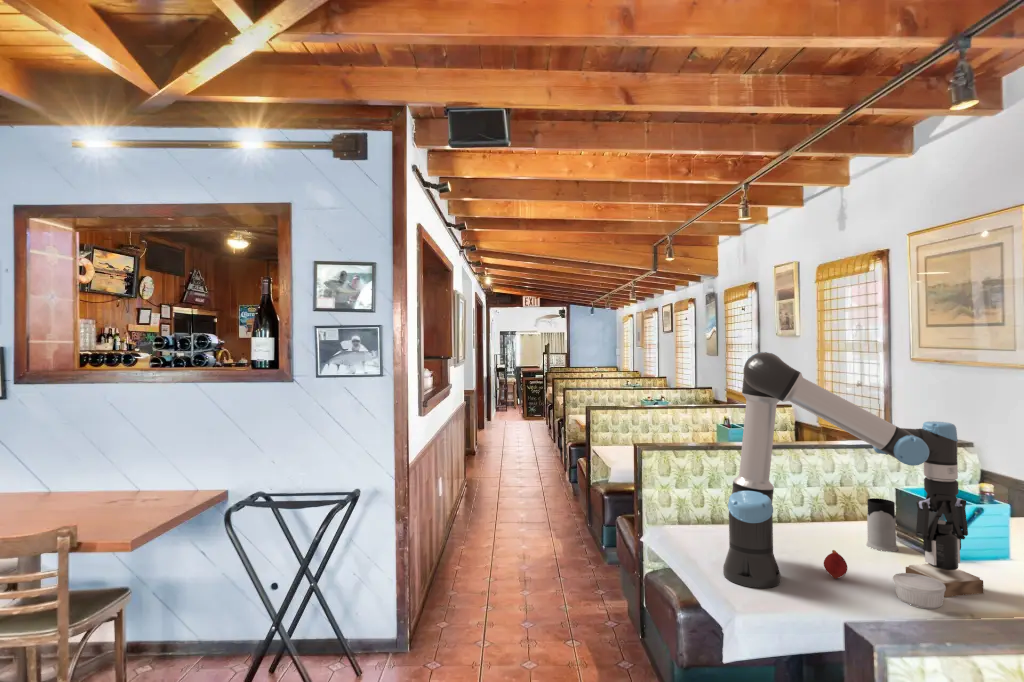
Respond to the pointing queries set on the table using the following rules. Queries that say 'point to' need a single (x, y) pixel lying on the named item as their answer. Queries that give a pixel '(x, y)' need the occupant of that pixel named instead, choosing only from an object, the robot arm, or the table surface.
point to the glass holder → (881, 524)
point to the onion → (835, 565)
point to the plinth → (950, 579)
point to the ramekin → (919, 590)
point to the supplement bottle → (946, 546)
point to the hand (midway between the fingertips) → (942, 562)
